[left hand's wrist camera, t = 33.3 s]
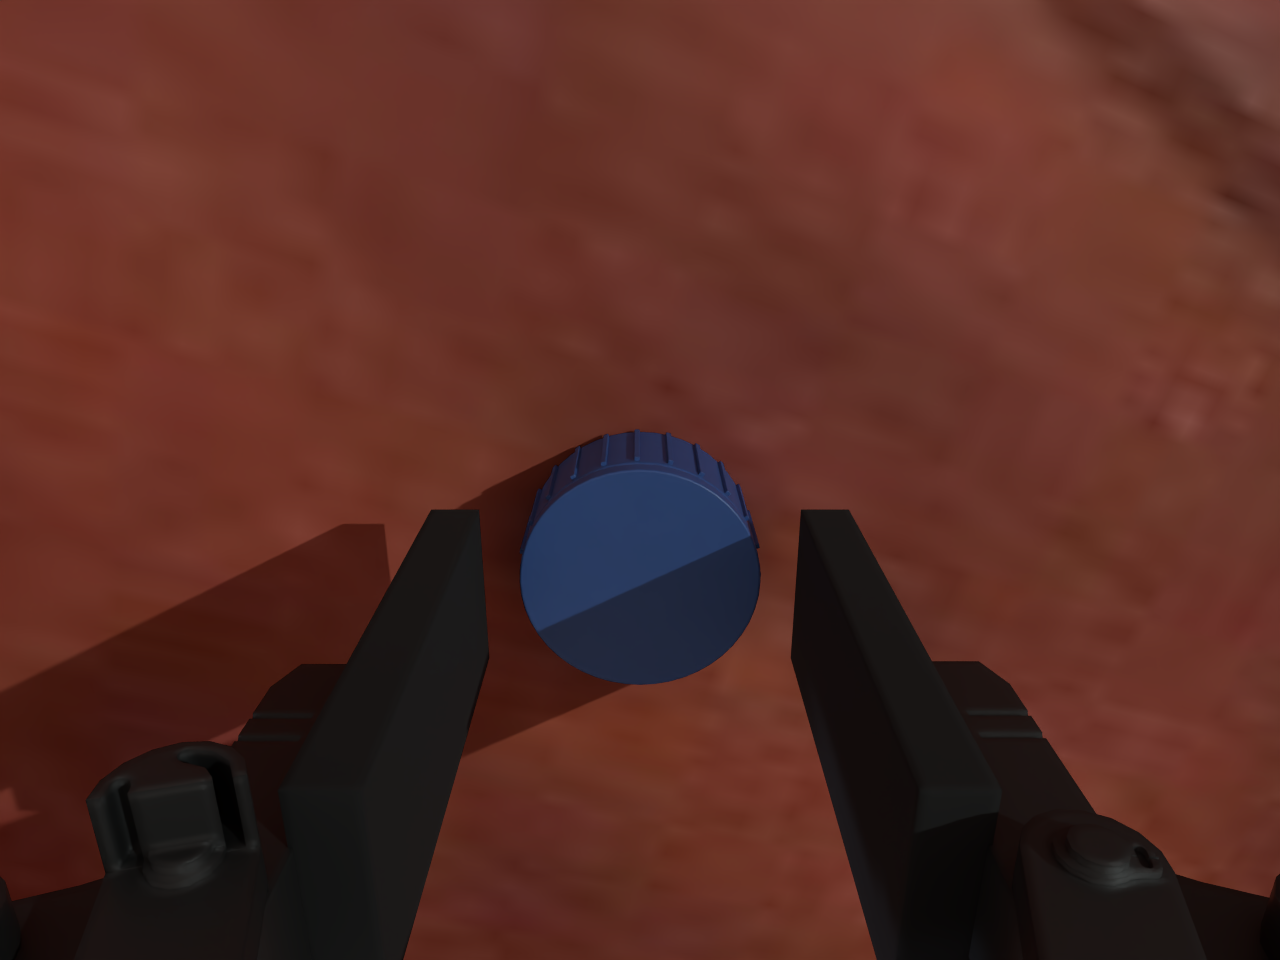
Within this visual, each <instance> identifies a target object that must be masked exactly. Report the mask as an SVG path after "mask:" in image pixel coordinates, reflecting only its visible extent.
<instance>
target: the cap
mask: <svg viewBox="0 0 1280 960" xmlns="http://www.w3.org/2000/svg"><path fill="white" fill-rule="evenodd" d="M757 548H760V547H759V543H758V539H757V536H756V532H755V529H754V525H753V522H752V518H751V515H750V512H749V510H748V511H747V508H746V505H745V501H744V498H743V494H742V491H741V487H740V485H739V484H737V485H735V483H734V482H733V480H732V479H731V477H730V476H729V474H728V473H727V472H726V471H725V468H724V464H723V463H722V462H721V461H720V462H717V461H716V460H715V459H713V458H712V457H711V456H710V455H709V454H707V453H706V452H704V451H703V450H701V449H700V445H698V444H696V443H695V445H692V444H690V443H688V442H686V441H684V440H681V439H678V438H675V437H672V436H671V433H666V435H663V434H658V433H648V432H640V430H635V432H632V433H622V434H617V435H612V436H609V435H608V434H606V435H604V437H603V438H602V439H599V440H596V441H594V442H592V443H590V444H588V445H586V446H584V447H582V448H581V447H580V446H578V447H577V448H576V449H575V452H574V453H573V454H571V455H570V456H569V457H568V458H567V459H566V460H564V461H563V462H562V463H561V464H560V465H559V466H557V465H555V466H554V467H553V469H552V473H551V476H550V477H549V479H548V480H547V482H546V483H545V485H544V487H543V489H542V490H541V489H538V491H537V494H536V498H535V501H534V505H533V508H532V512H531V515H530V517H529V520H528V524H527V527H526V531H525V534H524V538H523V541H522V545H521V548H520V554H522V559H521V565H520V588H521V596H522V600H523V603H524V607H525V610H526V612H527V615H528V617H529V619H530V621H531V623H532V625H533V627H534V628H535V630H536V631H537V633H538V635H539V636H540V637H541V638H542V640H543V641H544V642H545V643H546V644H547V646H548V647H549V648H550V649H551V650H553V651H554V652H555V653H556V654H557V655H558V656H559V657H560V658H562V659H563V660H565V661H566V662H567V663H569V664H570V665H572V666H574V667H575V668H577V669H579V670H581V671H582V672H585V673H587V674H590V675H592V676H594V677H597V678H601V679H604V680H608V681H611V682H617V683H623V684H638V685H643V684H657V683H663V682H669V681H673V680H676V679H679V678H683V677H686V676H688V675H690V674H693V673H695V672H698V671H699V670H701V669H703V668H705V667H706V666H708V665H710V664H711V663H713V662H714V661H716V660H717V659H718V658H720V657H721V656H722V655H723V654H724V653H725V652H726V651H728V650H729V649H730V648H731V647H732V646H733V645H734V643H735V642H736V641H737V640H738V638H739V637H740V636H741V635H742V633H743V632H744V630H745V628H746V627H747V625H748V623H749V622H750V619H751V617H752V615H753V612H754V610H755V607H756V603H757V600H758V596H759V589H760V577H761V572H760V564H759V558H758V553H757Z"/></svg>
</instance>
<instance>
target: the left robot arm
mask: <svg viewBox="0 0 1280 960" xmlns="http://www.w3.org/2000/svg"><path fill="white" fill-rule="evenodd" d="M488 660H489V648H488V633H487V619H486V604H485V590H484V576H483V561H482V547H481V532H480V518H479V510H431V511H430V513H429V515H428V517H427V518H426V520H425V522H424V524H423V526H422V528H421V529H420V531H419V533H418V535H417V537H416V538H415V540H414V542H413V544H412V546H411V548H410V549H409V551H408V553H407V555H406V557H405V559H404V560H403V562H402V564H401V566H400V568H399V569H398V571H397V573H396V575H395V577H394V579H393V580H392V582H391V584H390V586H389V588H388V590H387V591H386V593H385V595H384V597H383V599H382V601H381V602H380V604H379V606H378V608H377V610H376V611H375V613H374V615H373V617H372V619H371V621H370V622H369V624H368V626H367V628H366V630H365V632H364V633H363V635H362V637H361V639H360V641H359V642H358V644H357V646H356V648H355V650H354V652H353V653H352V655H351V657H350V659H349V661H348V663H347V664H301V665H300V666H299V667H297V668H296V669H294V670H293V671H292V672H290V673H289V674H288V675H286V676H285V677H284V678H282V679H281V680H279V681H278V682H277V683H275V684H274V685H273V686H271V687H270V689H269V690H268V692H267V693H266V695H265V696H264V698H263V699H262V701H261V702H260V704H259V705H258V707H257V708H256V710H255V711H254V713H253V719H249V720H248V722H247V723H246V725H245V726H244V728H243V729H242V731H241V733H240V734H239V736H238V737H239V738H238V741H235V742H234V743H233V745H232V746H227V745H223V744H219V743H215V742H211V741H202V742H181V743H177V744H173V745H169V746H165V747H162V748H158V749H154V750H151V751H149V752H146V753H144V754H142V755H140V756H138V757H136V758H133V759H131V760H129V761H127V762H125V763H123V764H122V765H120V766H119V767H118V768H116V769H115V770H114V771H112V772H111V773H110V774H108V775H107V776H106V777H104V778H103V779H102V780H100V781H99V783H98V784H97V785H96V787H95V788H94V790H93V791H92V792H91V794H90V795H89V796H88V798H87V799H86V803H87V807H88V811H89V814H90V818H91V822H92V825H93V829H94V833H95V836H96V840H97V844H98V847H99V851H100V855H101V858H102V862H103V866H104V869H105V873H106V874H105V876H104V878H103V879H99V880H96V881H93V882H90V883H86V884H83V885H80V886H75V887H71V888H67V889H63V890H58V891H54V892H50V893H45V894H41V895H37V896H33V897H28V898H24V899H20V900H15V901H11V898H10V895H9V892H8V889H7V886H6V882H5V880H3V879H2V878H1V877H0V960H403V958H404V955H405V951H406V948H407V944H408V941H409V937H410V934H411V930H412V927H413V923H414V920H415V916H416V913H417V909H418V906H419V902H420V899H421V895H422V892H423V888H424V885H425V881H426V878H427V874H428V871H429V867H430V864H431V860H432V857H433V853H434V850H435V846H436V843H437V839H438V836H439V832H440V829H441V825H442V822H443V818H444V815H445V811H446V808H447V804H448V800H449V797H450V793H451V790H452V786H453V783H454V779H455V776H456V772H457V769H458V765H459V762H460V758H461V755H462V751H463V748H464V744H465V741H466V737H467V734H468V730H469V727H470V723H471V720H472V716H473V713H474V709H475V706H476V702H477V699H478V695H479V692H480V688H481V685H482V681H483V678H484V674H485V671H486V667H487V664H488ZM791 660H792V664H793V667H794V671H795V674H796V678H797V681H798V685H799V688H800V692H801V695H802V699H803V702H804V706H805V709H806V713H807V716H808V720H809V723H810V727H811V730H812V734H813V737H814V741H815V744H816V748H817V751H818V755H819V758H820V762H821V765H822V769H823V772H824V776H825V779H826V783H827V786H828V790H829V793H830V797H831V800H832V804H833V807H834V811H835V814H836V818H837V821H838V825H839V828H840V832H841V836H842V839H843V843H844V846H845V850H846V853H847V857H848V860H849V864H850V867H851V871H852V874H853V878H854V881H855V885H856V888H857V892H858V895H859V899H860V902H861V906H862V909H863V913H864V916H865V920H866V923H867V927H868V930H869V934H870V937H871V941H872V944H873V948H874V951H875V955H876V958H877V960H1280V874H1279V875H1278V876H1277V877H1276V880H1275V883H1274V886H1273V889H1272V892H1271V895H1270V898H1268V897H1264V896H1259V895H1255V894H1251V893H1246V892H1242V891H1238V890H1234V889H1229V888H1225V887H1221V886H1216V885H1212V884H1208V883H1203V882H1200V881H1196V880H1193V879H1190V878H1186V877H1183V876H1180V875H1177V874H1175V872H1174V871H1173V869H1172V867H1171V866H1170V864H1169V863H1168V861H1167V860H1166V858H1165V856H1164V855H1163V853H1162V852H1161V851H1160V850H1159V849H1158V848H1157V847H1156V846H1154V845H1153V844H1152V843H1151V842H1150V841H1148V840H1147V839H1146V838H1145V837H1144V836H1143V835H1141V834H1140V833H1139V832H1137V831H1135V830H1133V829H1131V828H1129V827H1127V826H1125V825H1123V824H1122V823H1120V822H1118V821H1116V820H1114V819H1112V818H1109V817H1105V816H1101V815H1098V814H1096V813H1095V811H1094V810H1093V808H1092V807H1091V805H1090V804H1089V802H1088V801H1087V799H1086V798H1085V796H1084V795H1083V793H1082V792H1081V790H1080V789H1079V787H1078V786H1077V784H1076V783H1075V781H1074V780H1073V778H1072V777H1071V775H1070V774H1069V772H1068V771H1067V769H1066V768H1065V766H1064V765H1063V763H1062V762H1061V760H1060V759H1059V757H1058V756H1057V754H1056V753H1055V751H1054V750H1053V748H1052V747H1051V745H1050V744H1049V742H1048V741H1047V739H1046V738H1043V737H1042V732H1041V730H1040V729H1039V727H1038V726H1037V724H1036V723H1035V721H1034V720H1033V718H1032V717H1031V716H1028V713H1027V712H1028V711H1027V709H1026V708H1025V706H1024V705H1023V703H1022V702H1021V700H1020V699H1019V697H1018V696H1017V694H1016V693H1015V691H1014V690H1013V688H1012V687H1011V685H1010V684H1009V683H1008V682H1006V681H1005V680H1003V679H1002V678H1001V677H999V676H998V675H997V674H995V673H994V672H993V671H991V670H990V669H988V668H987V667H986V666H984V665H983V664H982V663H980V662H979V661H931V659H930V657H929V655H928V653H927V652H926V650H925V648H924V646H923V644H922V642H921V641H920V639H919V637H918V635H917V633H916V631H915V630H914V628H913V626H912V624H911V622H910V621H909V619H908V617H907V615H906V613H905V611H904V610H903V608H902V606H901V604H900V602H899V600H898V599H897V597H896V595H895V593H894V591H893V590H892V588H891V586H890V584H889V582H888V580H887V579H886V577H885V575H884V573H883V571H882V569H881V568H880V566H879V564H878V562H877V560H876V558H875V557H874V555H873V553H872V551H871V549H870V548H869V546H868V544H867V542H866V540H865V538H864V537H863V535H862V533H861V531H860V529H859V527H858V526H857V524H856V522H855V520H854V518H853V517H852V515H851V513H850V511H849V510H801V518H800V533H799V547H798V561H797V576H796V590H795V605H794V619H793V634H792V648H791Z"/></svg>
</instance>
